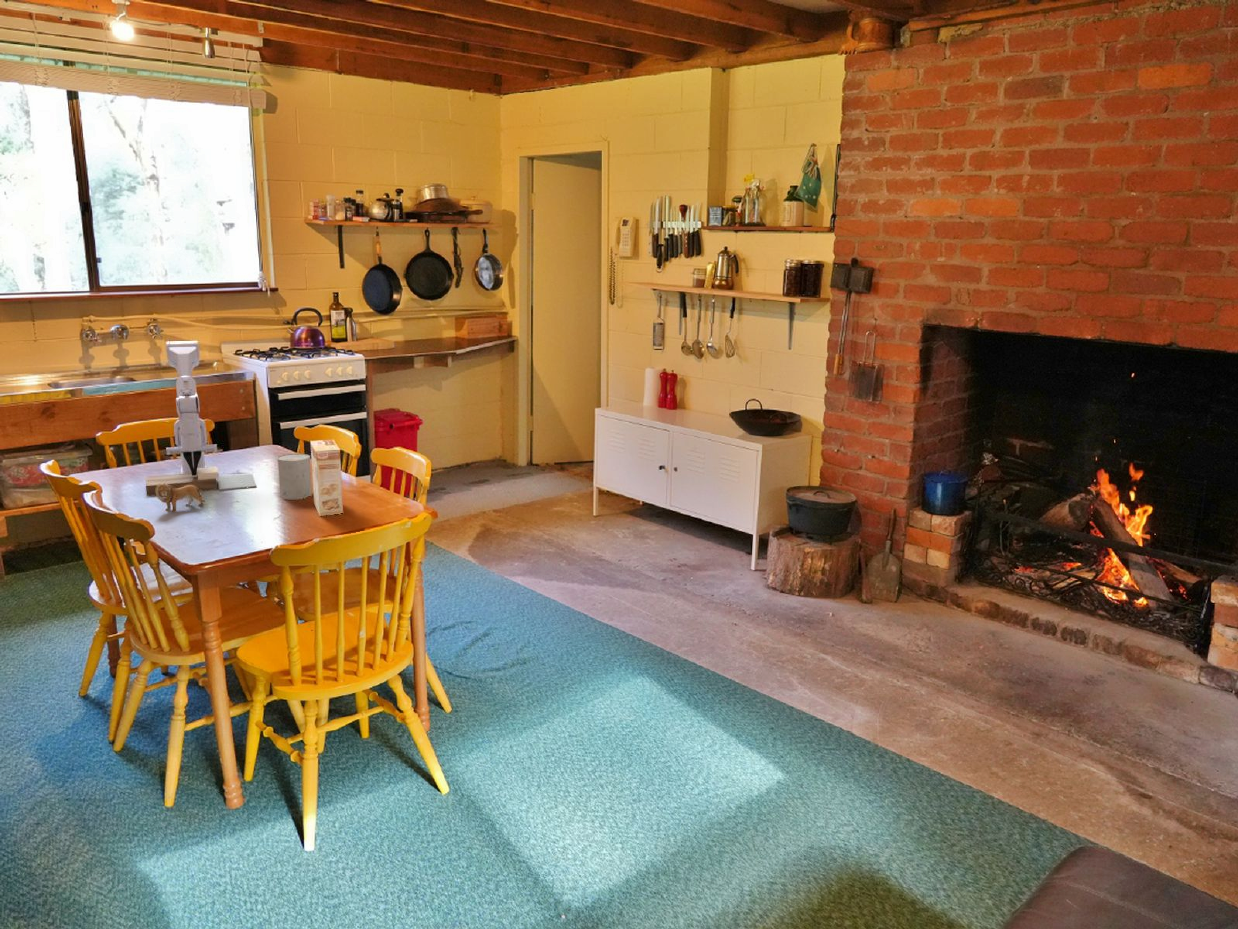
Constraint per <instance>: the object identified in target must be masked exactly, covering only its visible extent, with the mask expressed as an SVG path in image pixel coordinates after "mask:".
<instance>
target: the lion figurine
mask: <svg viewBox="0 0 1238 929" xmlns="http://www.w3.org/2000/svg"><path fill="white" fill-rule="evenodd" d="M155 493H156V495H155V496H156V497H157V498H156V499H158V500H159V501H161V502H162V503H164V504H166V507H167V508H165V511H166V512H169V511H171V513H176V512H177V501H181V500H185V498H187V499H188V503H186V504H185V507H189V506H191V505H192V504H193V502H194V500H196V501H198V502H200V503H199V504H198V507H203V506H204V503H205V502H206V501H205V500H204V499H203V496H202V493H201V491H200V490H199V489H198V488H197V487H196V486H194V485H187V486H184V487H181V488H176V487H174V486H172V485H168V484H166V483H160V484H158V485H157V487H156V489H155ZM171 508H172V510H171ZM168 510H169V511H168ZM175 511H176V512H175Z"/></svg>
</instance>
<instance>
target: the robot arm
mask: <svg viewBox="0 0 1238 929" xmlns="http://www.w3.org/2000/svg"><path fill="white" fill-rule="evenodd" d="M165 349H166V351H165V352H166V359H167V363H168V365H169V367H172V368H174V369H175V370H176V372H177V375H178V378H177V379H176V381H175V387H176V398H175V405H176V412H177V415H178V419H177V420H176V421H175V422H174V423H173V424H174V425H173V427H174V429H173V430H174V431H173V432H174V433H173V434H174V442H175V445H176V446H173V447H172V446H171V447H165V448H166V455H167V456H170V455H177V454H180V460H181V467H180V474H186V473H192V476H194V475H197V468H204V467H207V465H206V460H205V453H209V452H218V446H217V445H218V444H207V443H208V435H207V426H206V422H205V420H203V419H202V418H200V399H199V396H198V395H199V394H198V392H197V382H196V380H195V378H194V377H193V371H194V368H195V367H198V366H199V365H200V362H201V361H200V358H201V357H200V356H201V355H200V345H199V341H197V340H190V341H189V340H187V341H186V340H184V341H183V340H182V341H181V340H180V341H169V340H168V341H167V342H165ZM197 410H198V411H197Z"/></svg>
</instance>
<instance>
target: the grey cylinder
mask: <svg viewBox="0 0 1238 929" xmlns="http://www.w3.org/2000/svg"><path fill="white" fill-rule="evenodd" d="M277 468H278V482H279V497H280V498H281V499H283V500H288V501H290V500H291V501H293V500H303V498H304V499H307V498H306V497H308V496H310V497H312V496H313V493H312V492H313V486H312V475H311V474H312V469H311V455H309V454H307V453H287V454H282V455H279V456H277ZM308 498H309V497H308Z"/></svg>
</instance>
